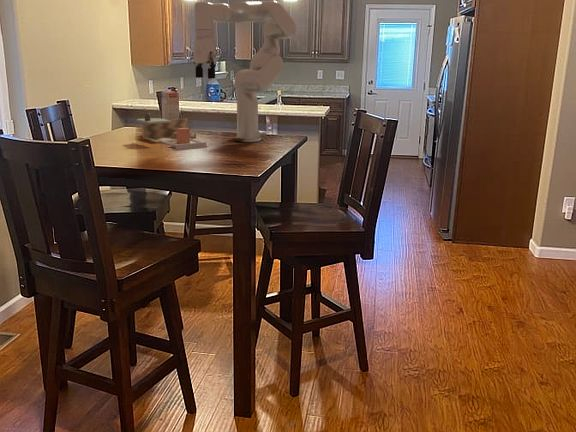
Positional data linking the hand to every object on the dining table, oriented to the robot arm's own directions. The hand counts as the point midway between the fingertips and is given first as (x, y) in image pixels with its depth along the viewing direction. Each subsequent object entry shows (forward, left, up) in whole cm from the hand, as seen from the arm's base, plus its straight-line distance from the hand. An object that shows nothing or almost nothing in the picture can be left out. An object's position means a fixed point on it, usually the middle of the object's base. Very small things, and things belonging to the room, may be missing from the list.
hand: (205, 78), depth 231 cm
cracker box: (-2, -36, -28) cm, 46 cm away
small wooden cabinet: (+6, -20, -28) cm, 35 cm away
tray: (+9, -4, -28) cm, 30 cm away
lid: (+14, -20, -19) cm, 31 cm away
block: (+9, -4, -28) cm, 29 cm away
